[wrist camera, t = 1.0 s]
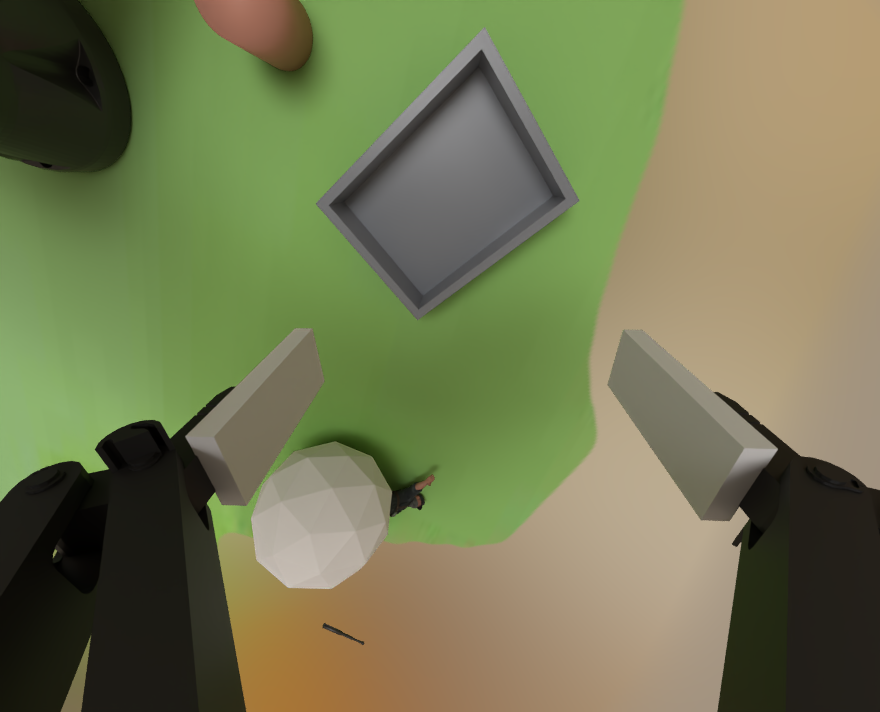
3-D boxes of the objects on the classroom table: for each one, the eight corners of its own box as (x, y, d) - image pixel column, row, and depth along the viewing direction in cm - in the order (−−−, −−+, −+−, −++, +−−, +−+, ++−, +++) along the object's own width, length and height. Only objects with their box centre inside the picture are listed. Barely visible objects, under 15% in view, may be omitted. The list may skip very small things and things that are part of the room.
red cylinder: (238, 25, 27) (173, -18, 21) (276, -31, 25) (217, -97, 19) (287, 86, 29) (239, 63, 22) (325, 37, 27) (285, -3, 21)
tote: (422, 302, 37) (417, 320, 33) (335, 199, 33) (315, 203, 28) (563, 196, 31) (579, 200, 27) (480, 50, 27) (484, 27, 22)
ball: (275, 413, 38) (272, 690, 25) (439, 424, 54) (490, 598, 41) (238, 472, 48) (221, 694, 35) (386, 467, 63) (414, 618, 50)
